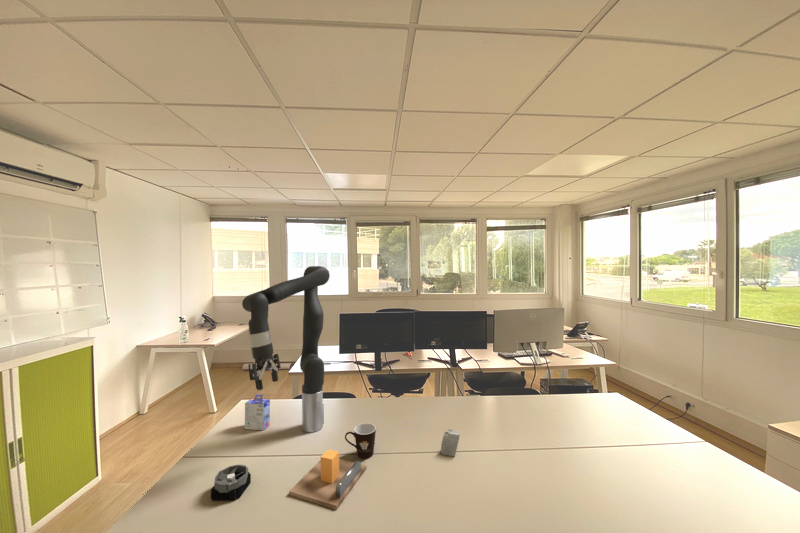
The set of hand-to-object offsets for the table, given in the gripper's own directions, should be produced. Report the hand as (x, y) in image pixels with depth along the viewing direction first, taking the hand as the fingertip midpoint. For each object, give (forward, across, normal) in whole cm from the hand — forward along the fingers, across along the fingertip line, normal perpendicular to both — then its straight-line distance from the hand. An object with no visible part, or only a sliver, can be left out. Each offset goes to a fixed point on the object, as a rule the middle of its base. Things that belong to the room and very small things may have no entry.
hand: (268, 385), depth 117 cm
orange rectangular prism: (+32, -5, -24) cm, 40 cm away
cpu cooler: (+28, -18, +5) cm, 34 cm away
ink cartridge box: (+25, +19, +26) cm, 41 cm away
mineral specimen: (+40, +23, -62) cm, 77 cm away
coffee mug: (+34, +12, -28) cm, 46 cm away
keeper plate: (+33, -5, -24) cm, 41 cm away
